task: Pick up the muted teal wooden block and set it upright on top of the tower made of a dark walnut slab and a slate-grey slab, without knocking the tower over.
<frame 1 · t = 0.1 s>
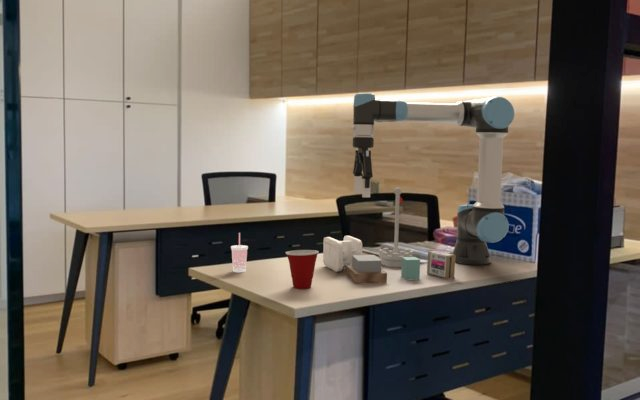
hand: (361, 195, 223), 28 cm above the table, tool pointing down, fingers open, 13 cm apart
teal block: (410, 278, 216), on the table
plastic cup: (301, 287, 200), on the table
beverage cup: (239, 271, 222), on the table
grey slab: (366, 269, 213), point 3 cm above the table, touching walnut slab
flag stand: (395, 264, 240), on the table
walnut slab: (366, 280, 213), on the table, touching grey slab
ink box: (440, 276, 220), on the table
cable organizer: (341, 269, 229), on the table
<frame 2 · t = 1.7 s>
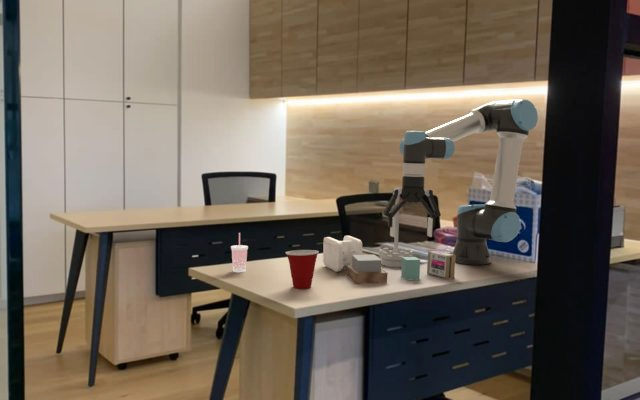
hand: (410, 236, 214), 15 cm above the table, tool pointing down, fingers open, 13 cm apart
nothing on the table moved.
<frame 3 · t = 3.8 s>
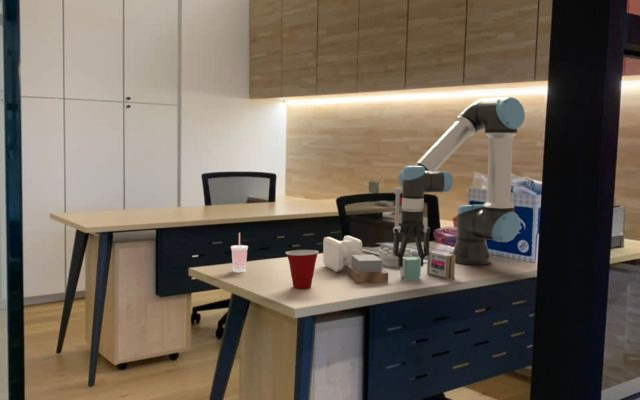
hand: (410, 275, 216), 1 cm above the table, tool pointing down, fingers closed on teal block, 5 cm apart
teal block: (410, 277, 216), on the table, touching gripper
everything else where it was.
when the fingers open (10 cm above the table, at t = 11.0 s): teal block drops 2 cm, point 7 cm above the table.
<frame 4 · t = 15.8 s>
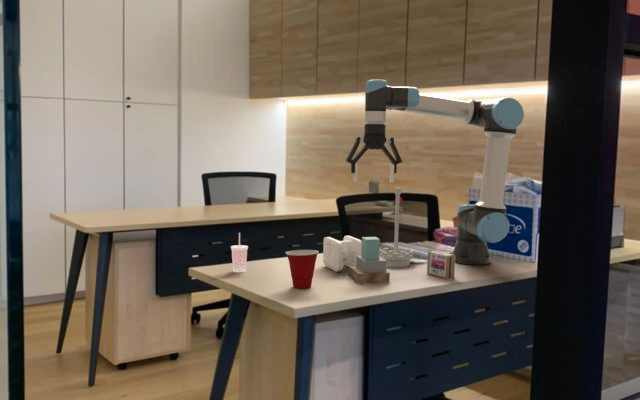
hand: (373, 182, 222), 33 cm above the table, tool pointing down, fingers open, 13 cm apart
teal block: (370, 258, 212), point 7 cm above the table
grey slab: (371, 269, 213), point 3 cm above the table, touching walnut slab
everything else where it was.
at the end: teal block 0.4 cm off-centre on the grey slab, point 4.0 cm above the grey slab's base; teal block tilted 0°; grey slab moved 1.7 cm from its start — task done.
